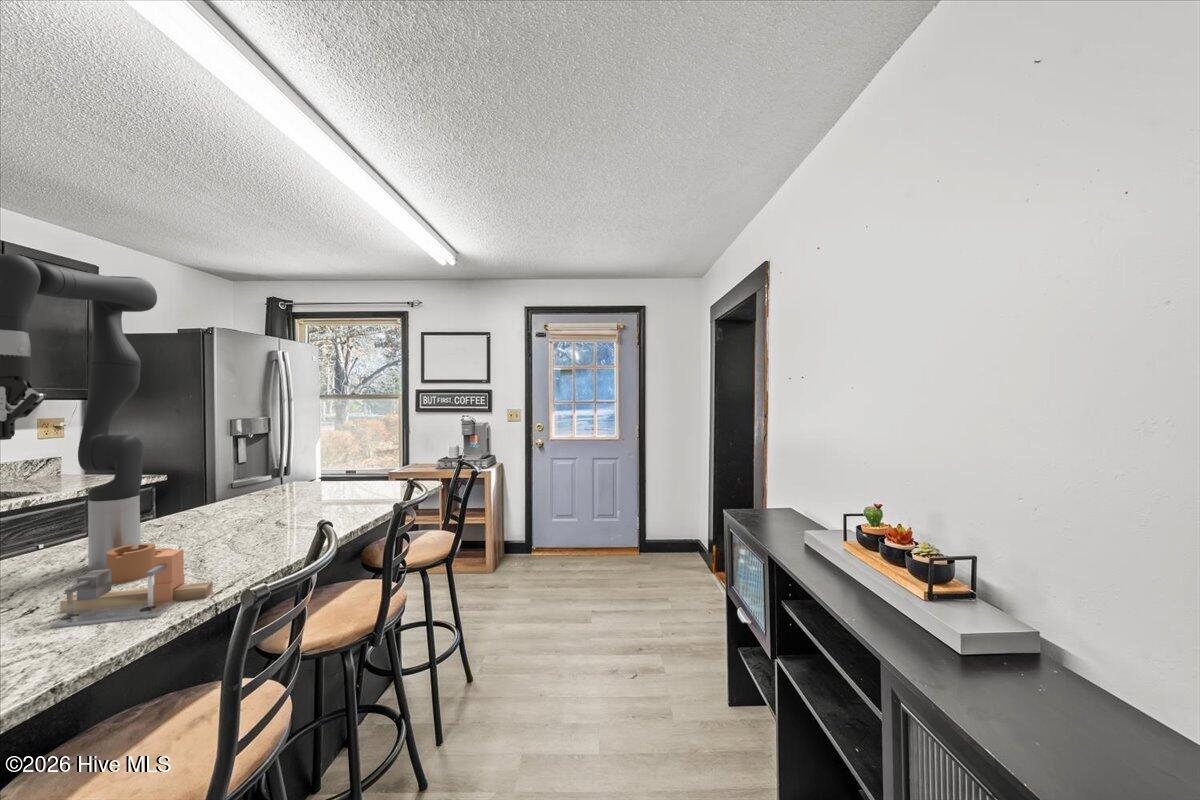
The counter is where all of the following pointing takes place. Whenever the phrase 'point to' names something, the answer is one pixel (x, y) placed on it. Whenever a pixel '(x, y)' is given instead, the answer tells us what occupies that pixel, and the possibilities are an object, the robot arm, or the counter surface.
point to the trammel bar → (119, 593)
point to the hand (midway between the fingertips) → (2, 439)
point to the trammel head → (165, 576)
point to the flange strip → (113, 614)
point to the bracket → (131, 561)
